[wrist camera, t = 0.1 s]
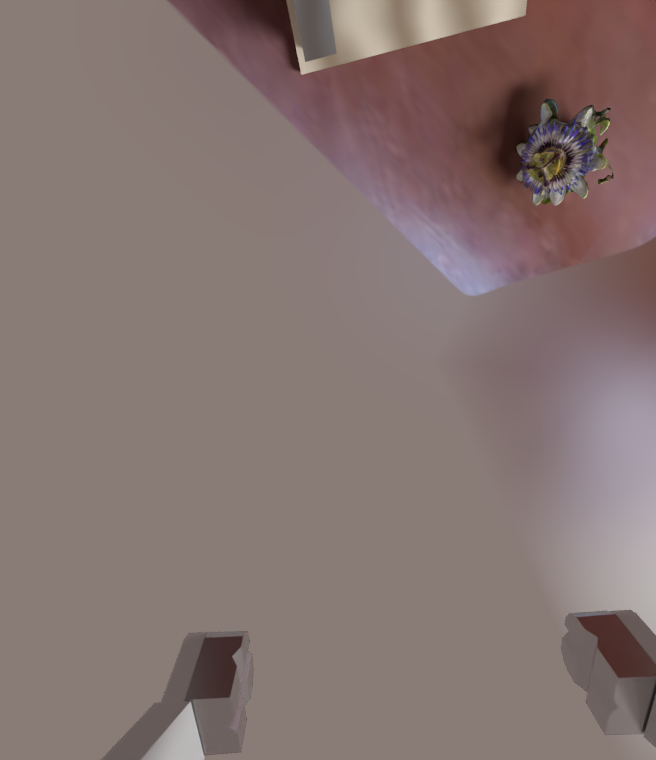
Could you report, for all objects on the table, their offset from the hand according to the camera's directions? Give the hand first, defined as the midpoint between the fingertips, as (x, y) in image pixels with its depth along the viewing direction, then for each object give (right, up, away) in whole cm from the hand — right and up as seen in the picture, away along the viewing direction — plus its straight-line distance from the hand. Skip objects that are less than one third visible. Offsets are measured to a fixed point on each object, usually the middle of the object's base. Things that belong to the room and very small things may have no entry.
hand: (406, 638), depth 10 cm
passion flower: (+27, +38, +41) cm, 62 cm away
